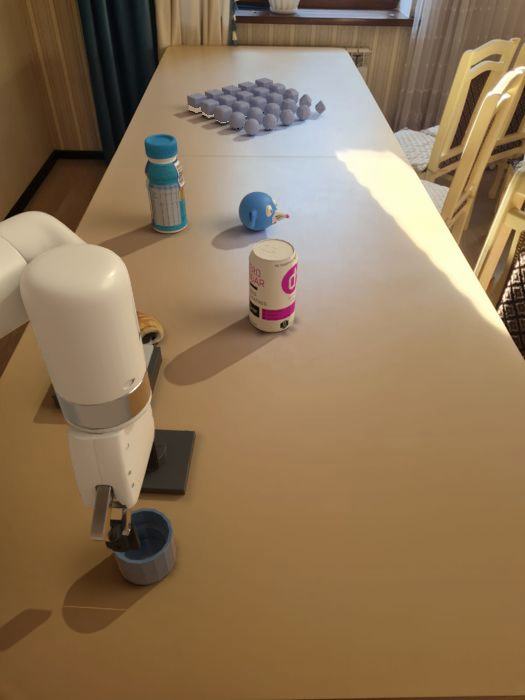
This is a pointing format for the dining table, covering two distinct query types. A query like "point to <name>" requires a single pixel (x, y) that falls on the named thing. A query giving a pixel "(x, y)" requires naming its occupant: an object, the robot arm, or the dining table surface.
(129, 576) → the bowl
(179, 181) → the beverage bottle
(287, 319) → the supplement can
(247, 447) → the dining table surface
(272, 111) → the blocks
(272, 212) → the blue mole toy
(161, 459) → the block
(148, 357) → the scale
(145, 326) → the pastry
